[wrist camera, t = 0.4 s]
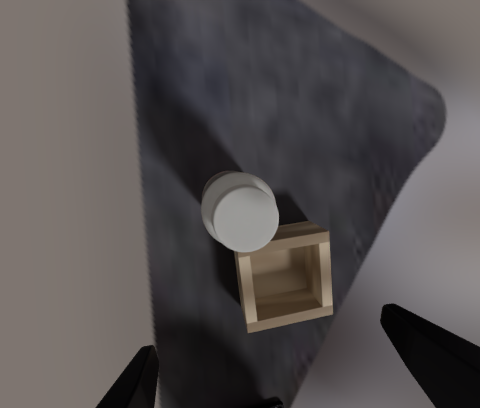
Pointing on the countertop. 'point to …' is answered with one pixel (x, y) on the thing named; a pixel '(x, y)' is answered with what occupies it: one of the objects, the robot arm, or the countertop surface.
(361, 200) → the countertop surface
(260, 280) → the birch socket stand
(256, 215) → the pill bottle
